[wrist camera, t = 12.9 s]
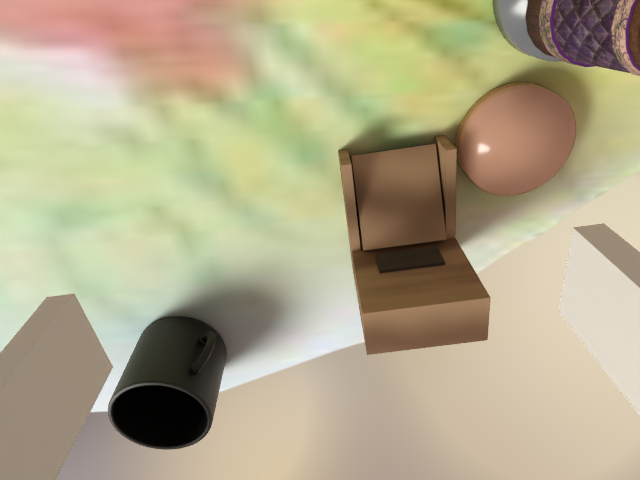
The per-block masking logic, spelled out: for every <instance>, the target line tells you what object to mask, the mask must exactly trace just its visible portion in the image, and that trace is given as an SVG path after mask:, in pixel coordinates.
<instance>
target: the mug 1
mask: <svg viewBox="0 0 640 480" xmlns="http://www.w3.org/2000/svg"><path fill="white" fill-rule="evenodd" d="M225 360H226V347H225V345H224V342H223V340H222V338H221V337H220V335H219V334H218V333H217V332H216V331H215V330H214V329H213V328H211V327H210V326H208V325H207V324H205V323H203V322H201V321H198V320H195V319H192V318H187V317H169V318H164V319H161V320H159V321H156V322H154V323H153V324H151V325H150V326H148V327H147V328H146V329H145V330H144V331H143V333H142V334H141V336H140V338H139V340H138V343H137V345H136V347H135V349H134V351H133V353H132V355H131V357H130V359H129V362H128V364H127V366H126V368H125V370H124V372H123V374H122V376H121V379H120V381H119V383H118V385H117V387H116V389H115V391H114V393H113V395H112V398H111V400H110V402H109V406H108V416H109V419H110V421H111V423H112V425H113V427H115V429H116V430H117V431H118V432H119V433H120V434H121V435H122V436H124V437H126V438H127V439H129V440H130V441H133V442H134V443H137V444H139V445H143V446H146V447H150V448H156V449H179V448H183V447H187V446H190V445H193V444H195V443H197V442H198V441H200V440H201V439H203V438H204V437H205V436H206V434H207V433H208V431H209V430H210V428H211V425H212V421H213V416H214V411H215V407H216V402H217V398H218V393H219V388H220V384H221V379H222V374H223V370H224V365H225Z"/></svg>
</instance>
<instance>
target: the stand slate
mask: <svg viewBox="0 0 640 480" xmlns="http://www.w3.org/2000/svg"><path fill="white" fill-rule="evenodd" d="M527 3H528V0H493V9H494V15H495V19H496V23H497V25H498V27H499V30H500V32H501V33H502V35H503V37H504V38H505V39H506V40H507V41H508V43H509V44H510V45H512V46H513V47H514V48H515V49H517V50H518V51H520V52H522V53H524V54H527V55H529V56H533V57H536V58H539V59H543V60H547V61H560V60H558V59H557V58H556V57H552V56H549V55H545V54H544V53H543V52H541V51H540V50H539V49H538V48H536V47H535V46H534V44H533V42H532V40H531V38H530V37H529V35H528V32H527V25H526V18H525V16H526V10H527Z"/></svg>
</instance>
